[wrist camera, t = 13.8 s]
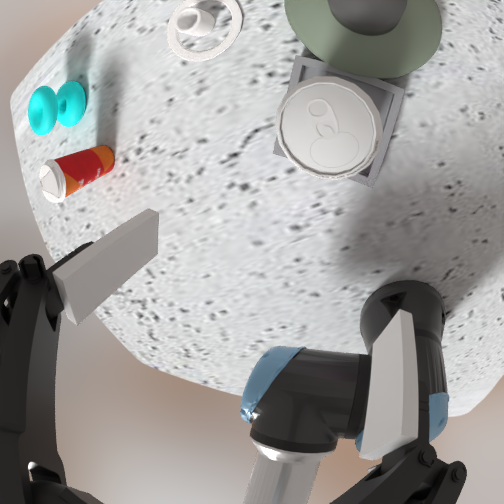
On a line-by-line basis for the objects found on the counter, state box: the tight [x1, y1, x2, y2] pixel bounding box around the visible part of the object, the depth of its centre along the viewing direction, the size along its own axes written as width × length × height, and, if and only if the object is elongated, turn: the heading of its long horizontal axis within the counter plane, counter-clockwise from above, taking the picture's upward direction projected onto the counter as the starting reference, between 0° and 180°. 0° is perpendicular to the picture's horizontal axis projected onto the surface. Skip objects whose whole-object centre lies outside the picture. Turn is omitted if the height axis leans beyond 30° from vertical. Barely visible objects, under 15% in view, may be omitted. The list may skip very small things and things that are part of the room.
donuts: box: [28, 81, 86, 136], centre depth 37 cm, size 10×10×10 cm
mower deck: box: [273, 0, 442, 188], centre depth 21 cm, size 18×30×9 cm, turn 169°
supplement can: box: [275, 76, 383, 180], centre depth 23 cm, size 8×8×15 cm
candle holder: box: [167, 0, 242, 61], centre depth 27 cm, size 12×12×4 cm
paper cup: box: [39, 145, 115, 203], centre depth 40 cm, size 8×8×14 cm
